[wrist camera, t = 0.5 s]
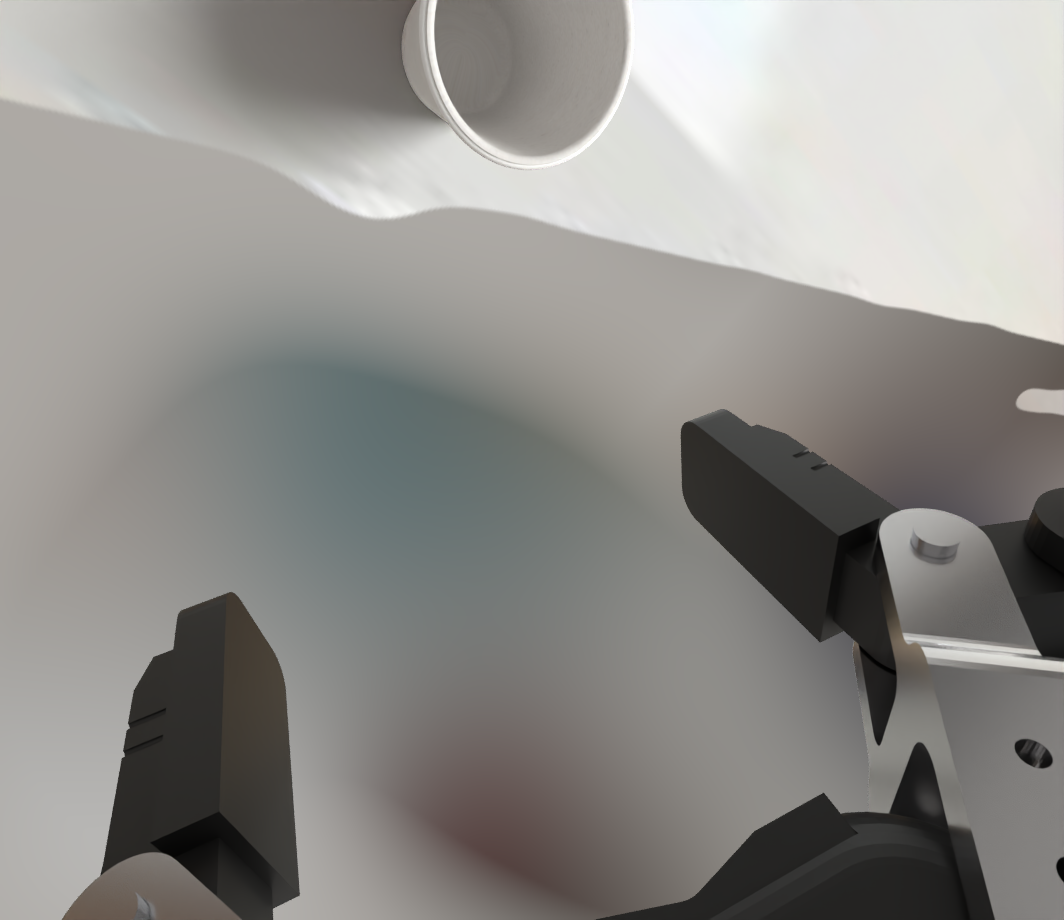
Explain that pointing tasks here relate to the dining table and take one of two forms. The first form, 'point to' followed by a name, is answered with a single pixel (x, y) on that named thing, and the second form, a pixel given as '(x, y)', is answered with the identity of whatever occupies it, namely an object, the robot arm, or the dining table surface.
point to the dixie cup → (521, 72)
